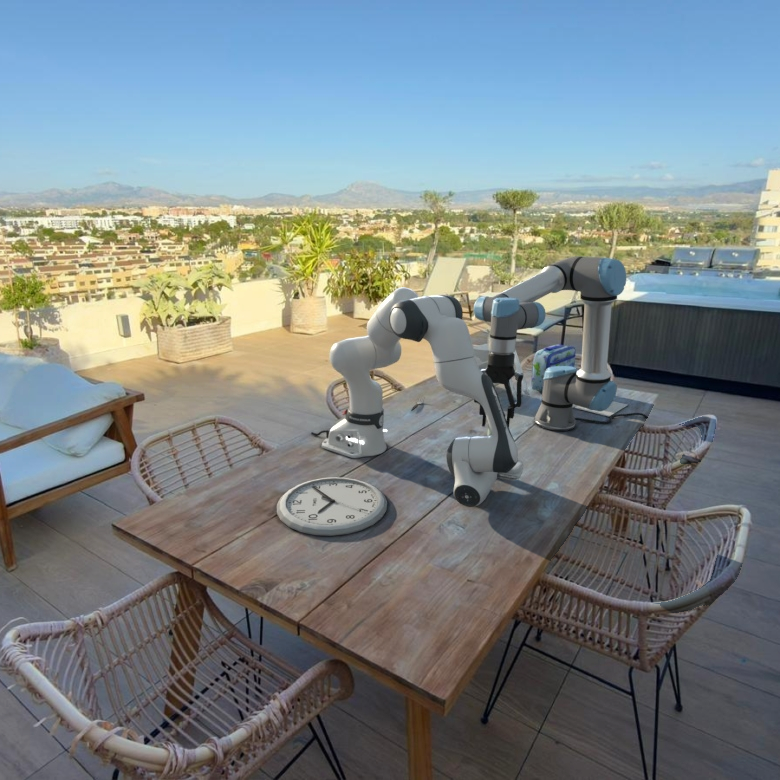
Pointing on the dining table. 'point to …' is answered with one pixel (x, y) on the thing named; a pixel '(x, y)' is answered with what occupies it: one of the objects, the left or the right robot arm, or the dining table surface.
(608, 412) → the invitation card
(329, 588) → the dining table surface
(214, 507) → the dining table surface
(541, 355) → the lunch box
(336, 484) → the wall clock
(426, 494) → the dining table surface
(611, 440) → the dining table surface
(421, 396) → the fork
